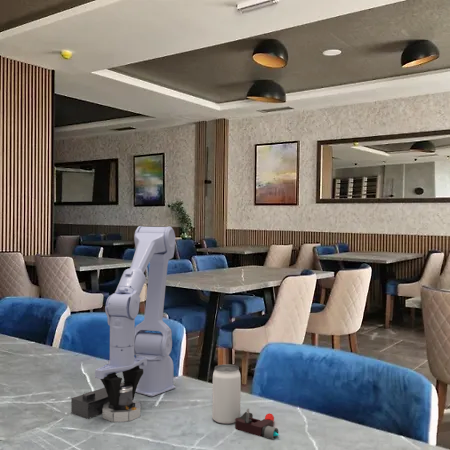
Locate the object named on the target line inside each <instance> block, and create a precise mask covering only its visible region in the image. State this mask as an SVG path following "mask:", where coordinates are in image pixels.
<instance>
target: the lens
mask: <svg viewBox="0 0 450 450" xmlns="http://www.w3.org/2000/svg"><path fill="white" fill-rule="evenodd" d="M132 389H133V386H132V384H131V383H127V382H124V381H123V382H121V384H120V389H119V402H118V406H114V410H128V409H131V408H132V407H133V400H134V399H132Z"/></svg>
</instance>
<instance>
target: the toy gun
mask: <svg viewBox="0 0 450 450" xmlns="http://www.w3.org/2000/svg"><path fill="white" fill-rule="evenodd" d="M253 415H254V414H253V413H252V412H250V408H247V409H246V411H245V412H244V413H243V414H242V415H240V417H239V418H236V419H235V423H234V428H235V430H237V431H240V432H242V433H243V432H244V433H247V434H251V435H254V436H257V437H259V438H260V437H265V438H266V439H269V440H270V439H271V440H273V441H274V440H275V438H278V437H279V436H280V434H279V433H280V432H279V429H278V428H277V427H274V422H275V417H274V415H273V413H266V414H265V416H264V418H263V419H261V420H260V419H259V418H254V417H253Z"/></svg>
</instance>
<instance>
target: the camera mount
mask: <svg viewBox="0 0 450 450" xmlns="http://www.w3.org/2000/svg"><path fill="white" fill-rule="evenodd" d="M70 409H71V410H70V412H71V413H72V414H73V415H76V416H79V417H82V418H84V417H85V419H87V418H88V419H91V418H94V417H97V416H99V415H102V419H104V420H105V421H109V422H111V423H118V422H119V423H120V422H121V423H123V422H124V423H125V422H130V421H133V420H136V419H138V418H140V417H141V401H138V400H135V399H133V407H132V408H131V409H128V410H114V406H113V405H110V403H109V399H108V395H107V392H106V389H105V387H103V388H99V389H96V390H93V391H89V392H86V393H85V392H84V393H83V394H80V395H77V396H74V397H71V408H70ZM96 415H97V416H96ZM93 416H94V417H93ZM90 417H91V418H90Z"/></svg>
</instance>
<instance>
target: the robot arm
mask: <svg viewBox="0 0 450 450" xmlns="http://www.w3.org/2000/svg"><path fill="white" fill-rule="evenodd" d="M133 238H134V245H135V251H134V255H133V258H132V261H131V263H130V267H129V268H127V269H126V268H125V270H124V271H123V273H122V275H121V277H120V280H119V283H118V285H117V287H116V290H115V291H114V293H112V294H110V295H108V297H107V299H106V302H105V306H104V311H105V315H106V319H107V325H108V326H109V360H108V363H106V364H105V365H103V366H100V367H98V368H95V370H94V379H98V380H100V381H101V383H102V386H103V388H105V389H106V392H107V395H108V399H109V403H110V405H113V406H118V402H119V389H120V384H121V383H122V380H123V382H127V383H131V384H132V386H133V389H132V399H133V400H135V396H136V395H135V394H136V393H138V394H142V395H144V396H149V397H154V396H157V395H160V394H163V393H165V392H168V391H171V390H174V389H176V385H174V361H173V359H172V358H171V356H170V355H171V352H172V349H173V348H172V347H173V339H172V328H170V326H169V325H168V324H166V322H164V320H163V315H164V308H165V307H164V306H165V296H166V285H167V277H168V275H167V274H168V265H169V260H171V259H173V258H174V255H175V251H176V250H175V248H176V234H175V230H174V229H173V227H172V226H170V225H169V226H168V225H167V226H142V225H139V226H138V227H137V228H136V229H135V231H134V237H133ZM148 265H149V267H148ZM147 267H148V278H146V275H145V271H146V269H147ZM146 279H147V280H148V281H147V289H146V297H145V298H146V301H145V308H144V309H145V310H144V316H143V317H144V319H143V320H142V321H141V322H140V323H138V324H137V325H136V323H135V322H136V317H137V316H138V314H139V310H140V304H141V297H140V296H141V293H142V291H143V287H144V285H145V283H146ZM148 331H150V332H148ZM120 373H122V377H123V378H122V377H120V376H118V374H120Z"/></svg>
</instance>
